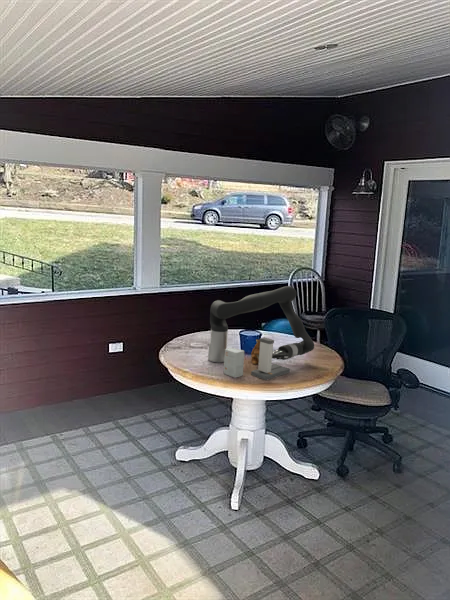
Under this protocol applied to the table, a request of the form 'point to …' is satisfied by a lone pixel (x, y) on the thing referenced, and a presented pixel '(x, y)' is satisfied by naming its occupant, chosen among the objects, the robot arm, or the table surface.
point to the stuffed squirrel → (255, 353)
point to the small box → (234, 362)
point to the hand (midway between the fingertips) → (267, 357)
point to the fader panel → (275, 371)
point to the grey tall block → (265, 354)
